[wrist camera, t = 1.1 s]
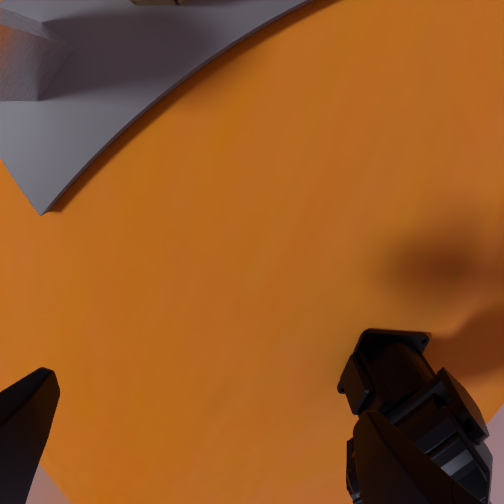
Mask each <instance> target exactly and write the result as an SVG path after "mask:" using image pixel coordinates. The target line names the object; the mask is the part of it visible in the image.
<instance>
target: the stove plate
mask: <svg viewBox="0 0 504 504" xmlns="http://www.w3.org/2000/svg"><path fill="white" fill-rule="evenodd" d="M312 1H314V0H193V1H191V2H188V3H185V4H183V5H180V4H179V2H177V6H138V5H137V4H136V5H134V4H133V3H131V2H129V1H127V0H2V1H1V2H0V7H1V8H4V9H7V10H10V11H12V12H15V13H18V14H21V15H24V16H26V17H29V18H31V19H34V20H37V21H39V22H42V23H43V24H44V25H46V26H47V27H48V28H49V29H51V30H52V31H53V32H54V33H56V34H57V35H58V36H60V37H61V38H62V39H63V40H65V41H66V42H67V43H68V44H70V45H71V46H72V47H73V48H74V50H73V52H72V53H71V54H70V56H69V57H68V58H67V59H66V61H65V62H64V64H63V65H62V66H61V68H60V69H59V70H58V72H57V73H56V75H55V76H54V77H53V79H52V80H51V82H50V83H49V85H48V86H47V88H46V89H45V91H44V92H43V94H42V95H41V97H40V99H39V100H38V102H34V101H0V158H1V160H2V162H3V163H4V165H5V166H6V168H7V169H8V171H9V172H10V174H11V175H12V177H13V178H14V180H15V181H16V183H17V184H18V186H19V187H20V189H21V190H22V191H23V193H24V194H25V196H26V197H27V199H28V200H29V201H30V203H31V204H32V205H33V207H34V208H35V210H36V211H37V212H38V214H39V215H40V216H42V215H43V214H45V213H47V212H48V211H49V210H50V209H51V208H52V206H53V205H54V204H55V203H56V202H57V201H58V199H59V198H60V197H61V196H62V195H63V194H64V193H65V191H66V190H67V189H68V188H69V187H70V186H71V185H72V184H73V183H74V181H75V180H76V179H77V178H78V177H79V176H80V175H81V174H82V173H83V172H84V171H85V170H86V169H87V168H88V167H89V165H90V164H91V163H92V162H93V161H94V160H95V159H96V158H97V157H98V156H99V155H100V154H101V153H102V152H103V151H104V150H105V149H106V148H107V147H108V146H109V145H110V144H112V143H113V142H114V141H115V140H116V139H117V138H118V137H119V136H120V135H121V134H122V133H123V132H124V131H125V130H126V129H128V128H129V127H130V126H131V125H132V124H133V123H134V122H135V121H136V120H138V119H139V118H140V117H141V116H142V115H143V114H144V113H146V112H147V111H148V110H149V109H150V108H151V107H153V106H154V105H155V104H156V103H157V102H159V101H160V100H161V99H162V98H164V97H165V96H166V95H167V94H168V93H170V92H171V91H172V90H174V89H175V88H176V87H177V86H179V85H180V84H181V83H183V82H184V81H185V80H186V79H188V78H189V77H190V76H192V75H193V74H194V73H196V72H197V71H199V70H200V69H201V68H203V67H204V66H205V65H207V64H208V63H210V62H211V61H213V60H214V59H215V58H217V57H218V56H220V55H221V54H223V53H224V52H226V51H227V50H229V49H230V48H232V47H233V46H235V45H236V44H238V43H240V42H241V41H243V40H244V39H246V38H247V37H249V36H251V35H252V34H254V33H256V32H257V31H259V30H261V29H262V28H264V27H266V26H267V25H269V24H271V23H273V22H274V21H276V20H278V19H280V18H282V17H283V16H285V15H287V14H289V13H291V12H293V11H295V10H296V9H298V8H300V7H302V6H304V5H306V4H308V3H310V2H312Z"/></svg>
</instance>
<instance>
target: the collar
mask: <svg viewBox="0 0 504 504" xmlns="http://www.w3.org/2000/svg"><path fill="white" fill-rule="evenodd" d="M127 1H129V2H131V3H133V4H134V5H136V4H137V5H138V6H177V2H179V4H180V5H183V4H185V3H188V2H191V1H193V0H127Z"/></svg>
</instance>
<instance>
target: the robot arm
mask: <svg viewBox="0 0 504 504" xmlns="http://www.w3.org/2000/svg"><path fill="white" fill-rule="evenodd" d="M367 336H369V337H367ZM366 337H367V338H366ZM423 339H424V340H423ZM422 340H423V341H422ZM428 342H429V337H428V336H427V335H426V334H423V333H406V332H391V331H378V330H365V331H364V332H362V334H361V336H360V338H359V340H358V343H357V345H356V347H355V349H354V352H353V354H352V355H351V356H350V358H349V360H348V362H347V364H346V366H345V368H344V371H343V373H342V375H341V377H340V379H341V380H340V382H339V384H338V386H337V390H338V392H339V393H341V394H346V397H347V399H348V402H349V405H350V408H351V411H352V413H353V414H354V415H358V417H359V420H358V421H357V423H356V425H355V426H354V429H353V438H351V439H350V440H348V441H347V467H346V484H347V491H348V492H349V494H350V496H351V498H352V499H353V504H491V502H490V491H491V480H492V462H493V458H492V454H491V453H490V451H489V449H488V447H487V446H486V444H485V443H484V440H485V439H486V438H488V437H489V432H488V430H487V427H486V424H485V422H484V419H483V417H482V414H481V412H480V410H479V408H478V406H477V405H476V403H475V402H474V400H473V399H472V398H471V396H470V395H469V393H468V392H467V391H466V389H465V388H464V387H463V386H462V385H461V384H460V383H459V382H458V381H457V380H456V379H455V378H454V377H453V376H452V375H451V374H450V373H449V372H448V371H447V370H446V369H445V368H444V367H443V368H441V369H440V370H439V371H438V372H437V373H438V374H437V375H436V374H435V373H434V371H433V370H432V368H431V367H430V365H429V364H428V362H427V361H426V359H425V358H424V356H423V355H422V353H423V351H424V349H425V347H426V345H427V344H428ZM59 397H60V388H59V385H58V382H57V378H56V375H55V372H54V371H53V370H50V369H47V368H44V367H41V368H39V369H37V370H35V371H34V372H32V373H30V374H29V375H27V376H26V377H24V378H22V379H21V380H19V381H17V382H16V383H14V384H13V385H11V386H9V387H8V388H6V389H4V390H3V391H1V392H0V504H25V503H26V500H27V496H28V493H29V490H30V487H31V484H32V481H33V478H34V475H35V472H36V469H37V467H38V464H39V461H40V458H41V456H42V453H43V450H44V447H45V445H46V442H47V439H48V436H49V433H50V429H51V425H52V421H53V418H54V414H55V411H56V407H57V404H58V400H59Z"/></svg>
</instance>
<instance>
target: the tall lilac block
mask: <svg viewBox="0 0 504 504" xmlns="http://www.w3.org/2000/svg"><path fill="white" fill-rule="evenodd" d="M73 50H74V48H73V47H72V46H71V45H70V44H68V43H67V42H66V41H65V40H63V39H62V38H61V37H60V36H58V35H57V34H56V33H54V32H53V31H52V30H51V29H49V28H48V27H47V26H46V25H44V24H43V23H42V22H39V21H37V20H34V19H31V18H29V17H26V16H24V15H21V14H18V13H15V12H12V11H10V10H7V9H4V8H1V7H0V101H34V102H38V100H39V99H40V97H41V95H42V94H43V92H44V91H45V89H46V88H47V86H48V85H49V83H50V82H51V80H52V79H53V77H54V76H55V75H56V73H57V72H58V70H59V69H60V68H61V66H62V65H63V64H64V62H65V61H66V59H67V58H68V57H69V56H70V54H71V53H72V52H73Z"/></svg>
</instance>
